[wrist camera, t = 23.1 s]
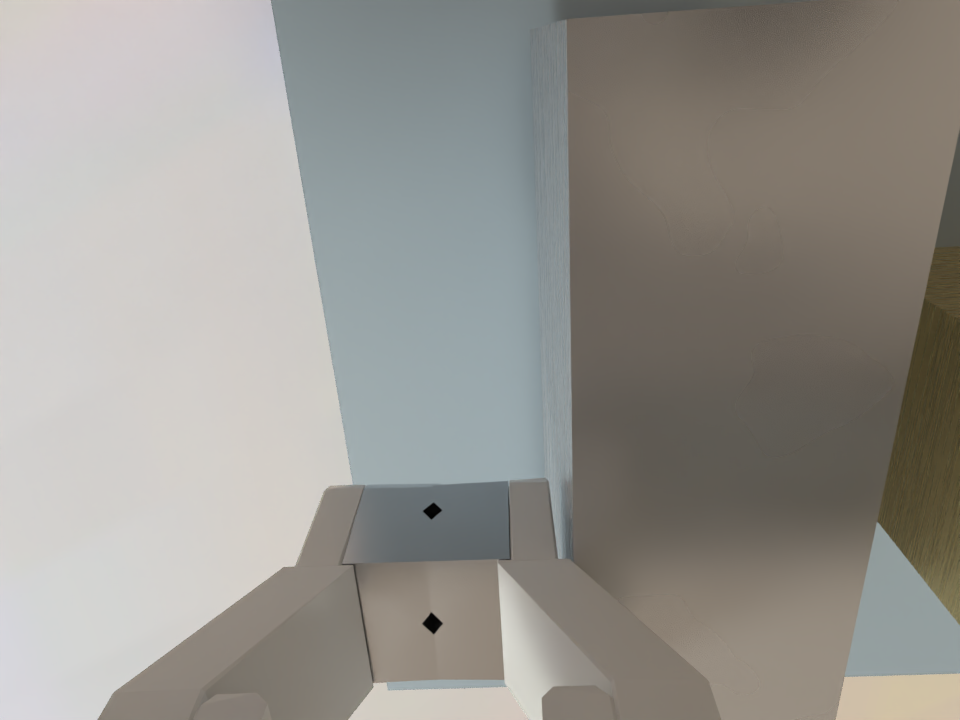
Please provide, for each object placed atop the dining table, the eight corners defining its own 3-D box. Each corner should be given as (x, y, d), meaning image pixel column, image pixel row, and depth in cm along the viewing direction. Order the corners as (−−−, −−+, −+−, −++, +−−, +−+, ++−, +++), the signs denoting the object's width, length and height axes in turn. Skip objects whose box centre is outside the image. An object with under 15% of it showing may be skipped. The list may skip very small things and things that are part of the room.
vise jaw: (530, 29, 11) (567, 18, 5) (730, 15, 10) (990, -12, 5) (549, 624, 16) (578, 941, 10) (685, 619, 15) (789, 938, 10)
